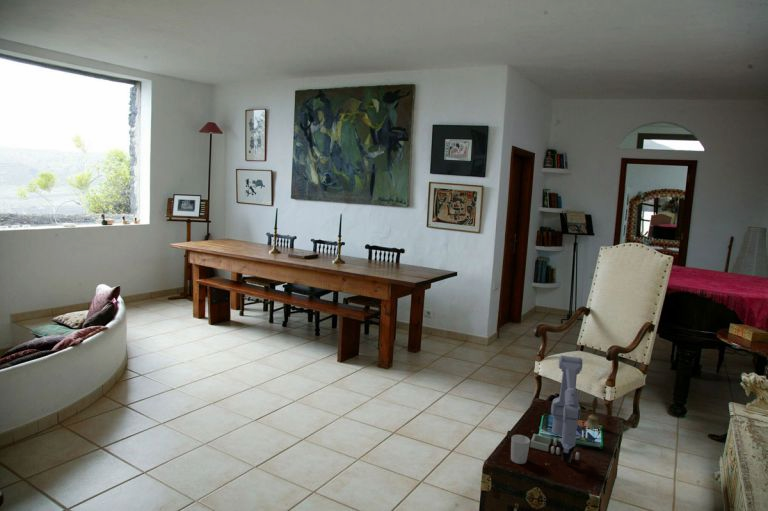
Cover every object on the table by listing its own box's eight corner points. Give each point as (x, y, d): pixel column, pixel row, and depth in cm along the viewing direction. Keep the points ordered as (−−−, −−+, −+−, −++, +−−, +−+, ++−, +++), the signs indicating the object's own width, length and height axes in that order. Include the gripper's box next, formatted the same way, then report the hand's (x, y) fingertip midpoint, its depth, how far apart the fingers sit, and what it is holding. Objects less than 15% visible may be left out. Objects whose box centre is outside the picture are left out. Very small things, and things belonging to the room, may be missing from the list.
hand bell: (600, 432, 265) (604, 402, 262) (583, 428, 268) (587, 398, 265) (600, 425, 272) (604, 396, 270) (583, 421, 275) (587, 392, 273)
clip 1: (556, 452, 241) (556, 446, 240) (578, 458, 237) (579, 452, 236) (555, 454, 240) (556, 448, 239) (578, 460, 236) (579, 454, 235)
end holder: (533, 439, 252) (533, 433, 252) (550, 443, 249) (551, 437, 249) (530, 447, 245) (530, 441, 244) (547, 451, 241) (548, 445, 241)
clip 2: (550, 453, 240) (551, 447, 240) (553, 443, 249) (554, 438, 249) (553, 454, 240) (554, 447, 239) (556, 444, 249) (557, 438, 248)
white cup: (528, 466, 228) (530, 444, 227) (509, 463, 230) (511, 441, 228) (527, 457, 236) (529, 436, 234) (509, 454, 237) (511, 433, 236)
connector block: (562, 456, 238) (563, 447, 238) (571, 458, 237) (572, 449, 236) (561, 460, 235) (562, 451, 234) (570, 462, 233) (571, 453, 233)
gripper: (561, 423, 238) (558, 451, 240) (557, 436, 225) (554, 465, 227) (578, 427, 235) (574, 455, 237) (575, 440, 222) (571, 470, 224)
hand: (565, 460), depth 232 cm, fingers closed
